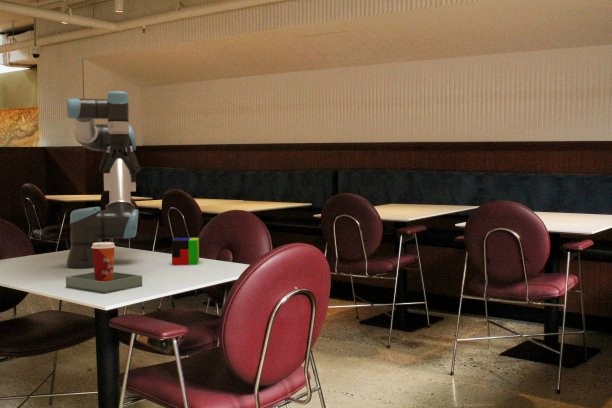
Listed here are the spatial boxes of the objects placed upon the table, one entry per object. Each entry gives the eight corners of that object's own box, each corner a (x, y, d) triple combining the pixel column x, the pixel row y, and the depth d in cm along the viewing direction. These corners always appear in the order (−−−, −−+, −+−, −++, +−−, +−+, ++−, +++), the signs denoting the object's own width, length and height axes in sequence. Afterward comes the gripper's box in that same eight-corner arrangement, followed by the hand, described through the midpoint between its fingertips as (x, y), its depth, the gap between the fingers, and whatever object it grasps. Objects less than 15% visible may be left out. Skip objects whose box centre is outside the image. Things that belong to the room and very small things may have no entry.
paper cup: (109, 287, 223) (108, 244, 222) (87, 286, 225) (86, 244, 224) (120, 283, 231) (119, 242, 230) (99, 282, 233) (98, 241, 232)
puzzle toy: (174, 262, 283) (174, 238, 282) (199, 261, 284) (198, 237, 283) (172, 265, 273) (171, 240, 272) (197, 265, 274) (196, 240, 273)
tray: (66, 287, 227) (65, 276, 227) (103, 280, 240) (103, 270, 240) (105, 293, 216) (104, 282, 216) (142, 285, 229) (142, 275, 229)
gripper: (88, 134, 256) (89, 190, 258) (133, 132, 242) (135, 192, 244) (104, 134, 262) (105, 189, 264) (149, 133, 248) (150, 191, 250)
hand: (119, 191), depth 254 cm, fingers open, 13 cm apart
